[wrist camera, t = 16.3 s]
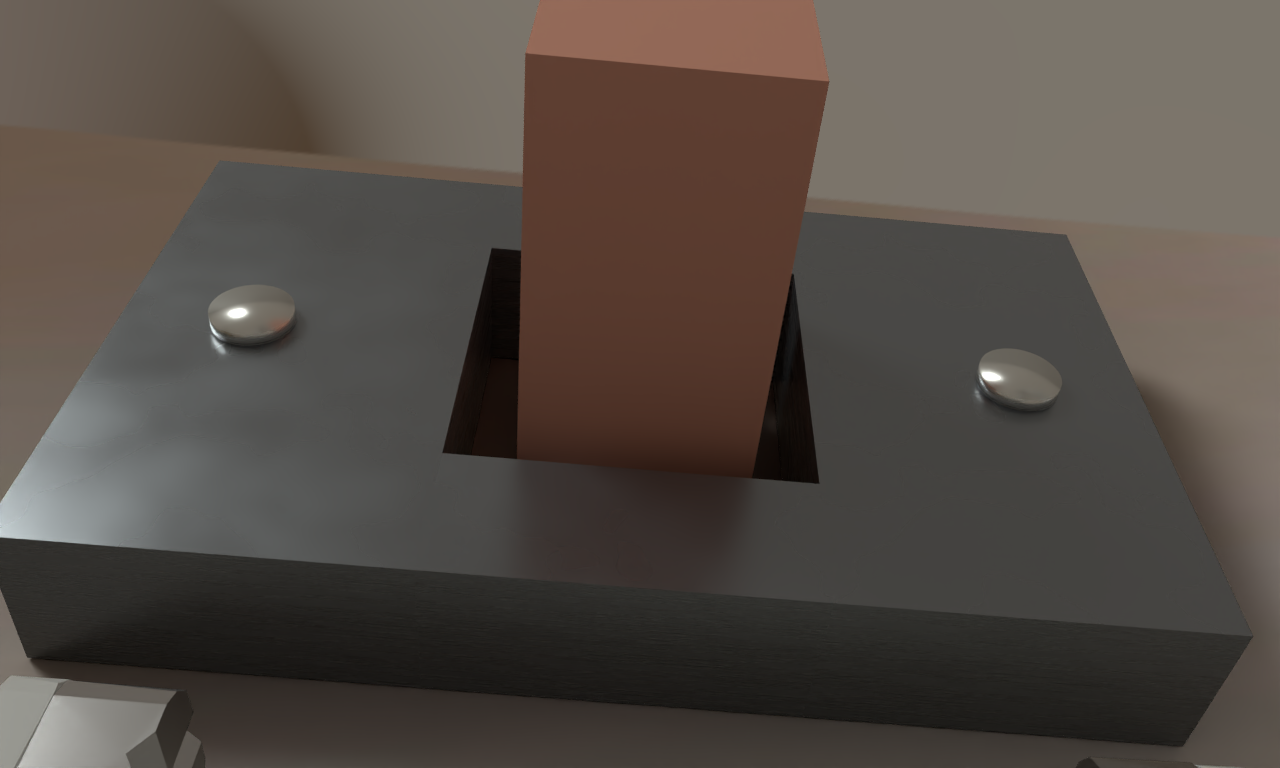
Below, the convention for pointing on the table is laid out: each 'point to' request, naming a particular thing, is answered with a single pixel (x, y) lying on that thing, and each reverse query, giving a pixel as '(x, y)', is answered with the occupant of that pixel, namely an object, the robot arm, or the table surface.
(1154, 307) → the table surface
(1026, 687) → the block with square hole
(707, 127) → the square peg
